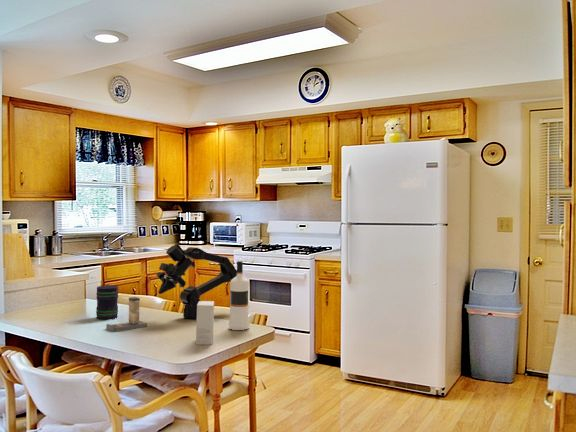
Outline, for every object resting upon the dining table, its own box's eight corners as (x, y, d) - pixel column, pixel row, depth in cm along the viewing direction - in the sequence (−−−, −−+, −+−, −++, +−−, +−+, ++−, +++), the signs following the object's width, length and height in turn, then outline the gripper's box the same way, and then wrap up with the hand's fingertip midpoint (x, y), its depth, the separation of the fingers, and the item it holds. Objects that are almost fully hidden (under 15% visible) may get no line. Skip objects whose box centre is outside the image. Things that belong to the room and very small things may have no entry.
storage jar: (122, 317, 238) (122, 286, 238) (107, 320, 229) (107, 289, 229) (107, 315, 242) (107, 284, 242) (91, 318, 234) (91, 287, 234)
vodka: (225, 327, 219) (226, 260, 219) (245, 325, 223) (245, 259, 223) (232, 332, 211) (233, 262, 211) (252, 330, 215) (253, 261, 215)
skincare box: (197, 339, 198) (198, 300, 198) (214, 339, 198) (214, 300, 198) (195, 345, 189) (196, 304, 189) (212, 344, 190) (213, 304, 190)
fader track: (139, 323, 224) (139, 319, 224) (146, 326, 219) (147, 322, 219) (106, 328, 213) (106, 324, 213) (112, 331, 208) (113, 327, 208)
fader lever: (135, 321, 221) (135, 296, 221) (139, 322, 218) (139, 298, 218) (128, 322, 219) (128, 297, 219) (132, 323, 216) (132, 298, 216)
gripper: (160, 255, 237) (138, 280, 230) (180, 258, 223) (157, 284, 216) (174, 270, 242) (153, 295, 235) (195, 274, 229) (173, 300, 221)
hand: (159, 293), depth 227 cm, fingers closed
